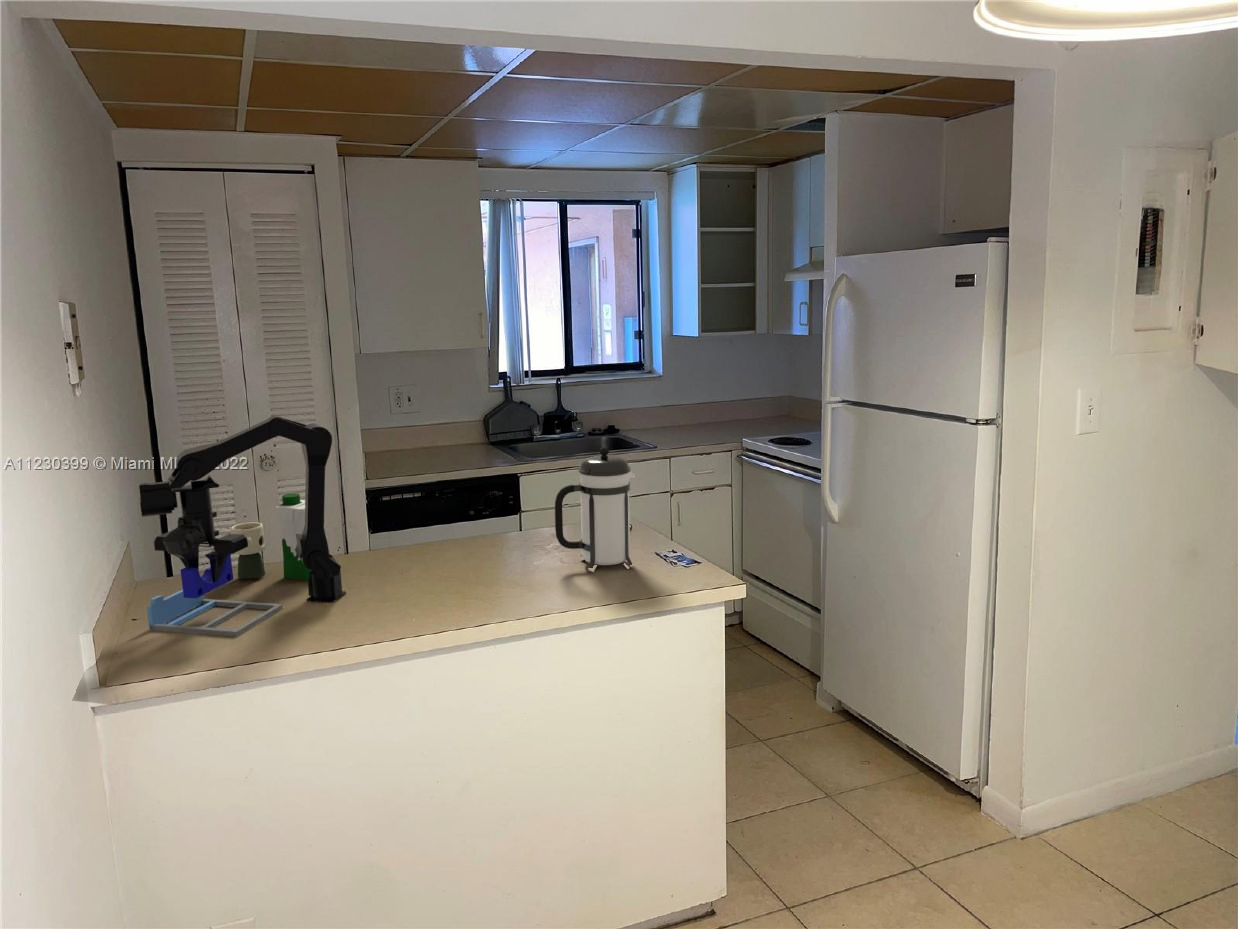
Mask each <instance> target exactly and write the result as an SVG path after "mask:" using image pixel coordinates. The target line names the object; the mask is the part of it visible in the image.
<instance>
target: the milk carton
mask: <svg viewBox="0 0 1238 929" xmlns="http://www.w3.org/2000/svg"><path fill="white" fill-rule="evenodd" d="M281 497H282V499H281V500H282V501H281V502H282V503H281V504H278V505H277V506H275V511H276V515H277V517H278V520H279V524H280V526H279V527H280V535H281V546H282V559H283V579H289V578H292V580H300V581H307V579H308V578H309V572H311V571H313V570H310V569H308V568H307V567H305V565H304V564H303V562H302V561H301V559H300V558H299V556H298V554H297V553H296V551H295V549H296V546H297V541H296V534H302V533H303V530H304V526H305V499H301V496H300V494H299V493H286V494H283V495H282V496H281Z"/></svg>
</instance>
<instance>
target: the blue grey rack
mask: <svg viewBox="0 0 1238 929" xmlns="http://www.w3.org/2000/svg"><path fill="white" fill-rule="evenodd" d="M202 604H203V605H202ZM197 606H199V607H197ZM213 606H214V607H217V606H218V607H227V606H232V607H231V608H232V609H230V610H229V611H227V612H225V613H224V614H221V615H219V617H217V618H215V619H213V620H211V621H209V622H207V623H206V624H204V625H202V626H192V625H191V626H190V625H182V623H183V624H185V623H187V622H188V621H190V620H192V619H194V618H196V617H198V616H199V615H201V614H203V613H204V611H205V612H206V610H207V609H209V610H210V608H211V609H213V608H214V607H213ZM196 607H197V608H196ZM194 608H195V609H194ZM191 609H193V610H191ZM244 609H245V610H247V609H256V610H266V611H264V612H263V613H261V614H259V615H258V616H256V617H255V618H252V619H251V620H250V621H248V622H246V623H244V624H243V625H241V626H239V627H237V628H235V629H229V628H215V627H217V626H219V625H221V624H222V623H224V622H226V621H228V620H229V619H231V618H233V617H235V616H236V615H238V614H240V613H241V611H242V612H243V611H245V610H244ZM268 609H269V610H268ZM283 609H284V608H283V604H281V603H270V602H269V603H268V602H267V603H265V602H256V601H255V602H254V601H253V602H252V601H242V600H241V601H240V600H225V599H223V600H222V599H213V598H212V599H210V598H209V599H208V598H205V594H204V595H202V596H200V597H199V598H184V594H183V588H182V589H180V590H178V591H177V592H175V593H173V594H171V595H168V596H166V597H165V598H164V595H163V594H162V595H159V594H158V595H156V596H154V597H152V598H150V605H148V606H147V605H146V612H147V619H148V620H147V621H148V627H149V630H150V631H160V630H166V631H165V632H173V633H174V632H177V633H186V634H199V635H200V634H202V635H213V636H214V635H215V636H227V637H239V636H240V635H242V634H244V633H245V632H247V631H249V630H250V629H252V628H253V627H255V626H256V625H259V624H261V623H262V622H263V621H265V620H267V619H268V618H270V617H271V616H274V615H275V614H277V613H278V612H280V611H282V610H283ZM189 610H191V611H189ZM188 611H189V612H188ZM207 611H208V610H207ZM184 613H185V614H184ZM200 613H201V614H200ZM237 613H238V614H237ZM182 614H183V615H182ZM178 616H179V617H178ZM195 616H196V617H195ZM177 617H178V618H177ZM175 618H176V619H175ZM172 619H174V620H172ZM189 619H190V620H189ZM227 619H228V620H227ZM171 620H172V621H171ZM169 621H170V623H169ZM167 622H168V623H167ZM164 623H166V624H164ZM180 624H181V625H180ZM213 627H214V628H213Z"/></svg>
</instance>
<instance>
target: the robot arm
mask: <svg viewBox="0 0 1238 929" xmlns="http://www.w3.org/2000/svg"><path fill="white" fill-rule="evenodd" d="M277 437H282V438H284V439H288V440H291V441H294V442H297V443H299V444H300V446H301V452H302V455H303V460H304V464H305V484H304V485H305V487H304V488H305V489H304V490H305V491H304V492H305V494H304V500H305V526H304V530H303V533H302V534H296V541H297V546H296V549H295V551H296V553H297V554H298V556H299V558H300V559H301V561H302V562H303V564H304V565H305V567H307V568H308V569H310V570H313V571H311V572H309V578H308V579H307V580H306V581H307V590H308V596H309V597H307V598H306V602H313V603H327V604H328V603H329V604H331V603H335V602H336V601H338V600H339V599H340V598H342V597H344V596H345V595H346V594H347V591H346V590H345V591H344V590H343V585H342V570H341V568H342V566H341V565H340V564H339V562H338V561H337V560H336V558H335V557H334V556H333V555H332V554H331V553H330V551H329V550H330V549H329V544H328V540H327V536H326V532H325V501H326V500H325V499H326V498H325V494H326V492H325V491H326V466H327V463H328V461H329V457H330V454H331V450H332V444H333V436H332V433H331V431H330V430H328V428H326V427H324V426H323V425H321V424H319V423H315V422H314V423H312V422H311V423H309V424H304V423H302V422H298V421H295V420H292V419H287V418H284V417H282V416H281V415H277V414H274V415H271V416H269V418H267V419H265V420H262V421H260V422H258V423H256V424H253V425H252V426H250V427H247V428H245V429H243V430H241V431H239V432H236V433H234V434H232V435H229V436H228V437H226V438H223V439H221V440H219V441H216V442H212V443H207V444H202V445H198V446H194V447H190V448H188V449H184V450H182V451H181V452H180V453H178V455H177V456H176V459H175V468H174V469H173V471H172V472H171V474H170V475H169V477H168V479H167V481H159V482H140V483H139V484H138V489H139V495H140V496H139V505H140V512H141V517H142V518H144V517H152V516H160V515H169V514H173V511H175V510H176V509H178V499H177V498H178V497H177V493H179V498H180V508H181V515H182V516H179V517H177V518H178V519H177V527H175V528H174V529H172V530H170V531H168V532H164V533H162V534H160V535H157V536H156V537H155V538H154V541H153V547H154V551H159V552H167V553H168V554H169V555H171V556H174V557H177V558H178V559H179V560H180V561H181V562H182V565H184V568H198V570H199V569H200V568H199V567H200V566H199V562H200V561H199V560H200V559H199V558H200V557H199V556H200V555H199V554H200V547H201V548H211V549H210V550H211V552H208V553H206V554H204V555H205V557H206V558H207V559H208V560H209V567H211V575H212V580H213V582H217V581H218V579H219V576H220V574H221V571H222V568H223V565H224V563H225V561H226V558H227V556H228V554H231V555H233V554H235V553H236V552H238V551H240V550H242V549H244V548H246V547H248V540H247V537H246V536H245V535H243V534H231V533H228V534H225V535H223V536H221V537H219V538H216V537H218V536H219V535H220V531H219V530H217V529H215V524H214V518H217V517H218V513H217V511H213V506H212V497H211V489H216V488H219V487H220V483H219V482H218V481H217V480H216V479H214V478H213V477H212V476H211V475H210V473H211V472H212V471H215V469H216V468H217V467H219V466H220V465H221V464H223V463H225V461H227V460H228V459H231V458H233V457H235V456H238V455H240V454H242V453H243V452H246V451H248V450H250V449H252V448H254V447H257V446H259V445H262V444H263V443H265V442H267V441H269V440H272V439H274V438H277ZM208 474H209V475H208ZM205 476H207V477H206V478H204V477H205ZM202 478H204V479H202ZM189 482H190V484H188V483H189Z"/></svg>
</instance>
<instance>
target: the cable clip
mask: <svg viewBox="0 0 1238 929" xmlns="http://www.w3.org/2000/svg"><path fill="white" fill-rule="evenodd" d="M233 573H234V572H233V565H232V554H228V556H227V558H226V561H225V563H224V565H223V568H222V571H221V574H220V576H219V579H218V581H217V582H213V580H212V575H211V567H210V566H209V567H208V568H206V569H205V570H204V572H203V574H202V575H201V574H200V572H199V570H198V568H186V567H183V568H182V569H180V577H181V585H182V589H183V594H184V598H199V597H200V596H202V595H204V596H205V595H206V594H208V593H210V592H212V591H214V590H216V589H218V588H220V587H222V586H223V585H226V584H228V583H229V582H232V581H233V580H234V574H233Z"/></svg>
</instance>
